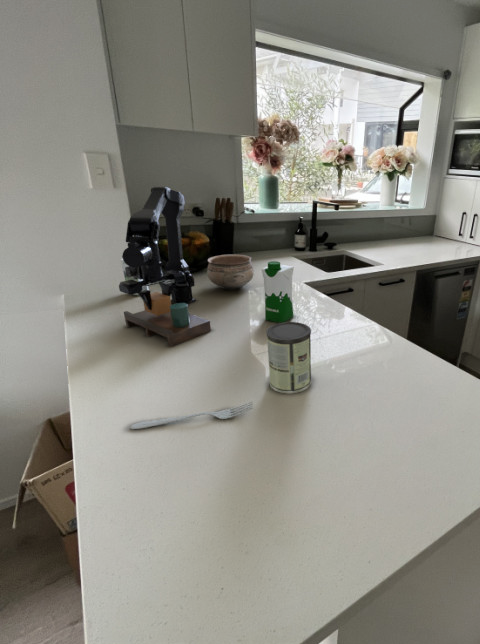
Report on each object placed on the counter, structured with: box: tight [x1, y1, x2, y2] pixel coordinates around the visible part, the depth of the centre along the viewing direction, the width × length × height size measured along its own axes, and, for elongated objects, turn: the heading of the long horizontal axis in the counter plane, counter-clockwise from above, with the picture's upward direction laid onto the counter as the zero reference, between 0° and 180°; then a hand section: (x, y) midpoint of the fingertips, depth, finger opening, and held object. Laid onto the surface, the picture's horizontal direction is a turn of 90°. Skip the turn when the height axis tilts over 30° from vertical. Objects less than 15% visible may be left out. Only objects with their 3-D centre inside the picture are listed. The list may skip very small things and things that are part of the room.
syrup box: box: [120, 258, 150, 296], centre depth 148 cm, size 6×6×14 cm
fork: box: [129, 401, 253, 430], centre depth 78 cm, size 3×24×2 cm, turn 105°
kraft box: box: [142, 291, 172, 316], centre depth 119 cm, size 5×7×5 cm
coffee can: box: [265, 321, 312, 395], centre depth 90 cm, size 10×10×14 cm
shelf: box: [123, 309, 212, 347], centre depth 119 cm, size 14×24×5 cm, turn 56°
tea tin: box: [170, 303, 190, 327], centre depth 114 cm, size 5×5×6 cm
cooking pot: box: [206, 253, 255, 291], centre depth 158 cm, size 25×19×12 cm
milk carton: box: [261, 260, 294, 324], centre depth 126 cm, size 9×9×20 cm
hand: (158, 307), depth 120 cm, fingers closed on kraft box, 5 cm apart
